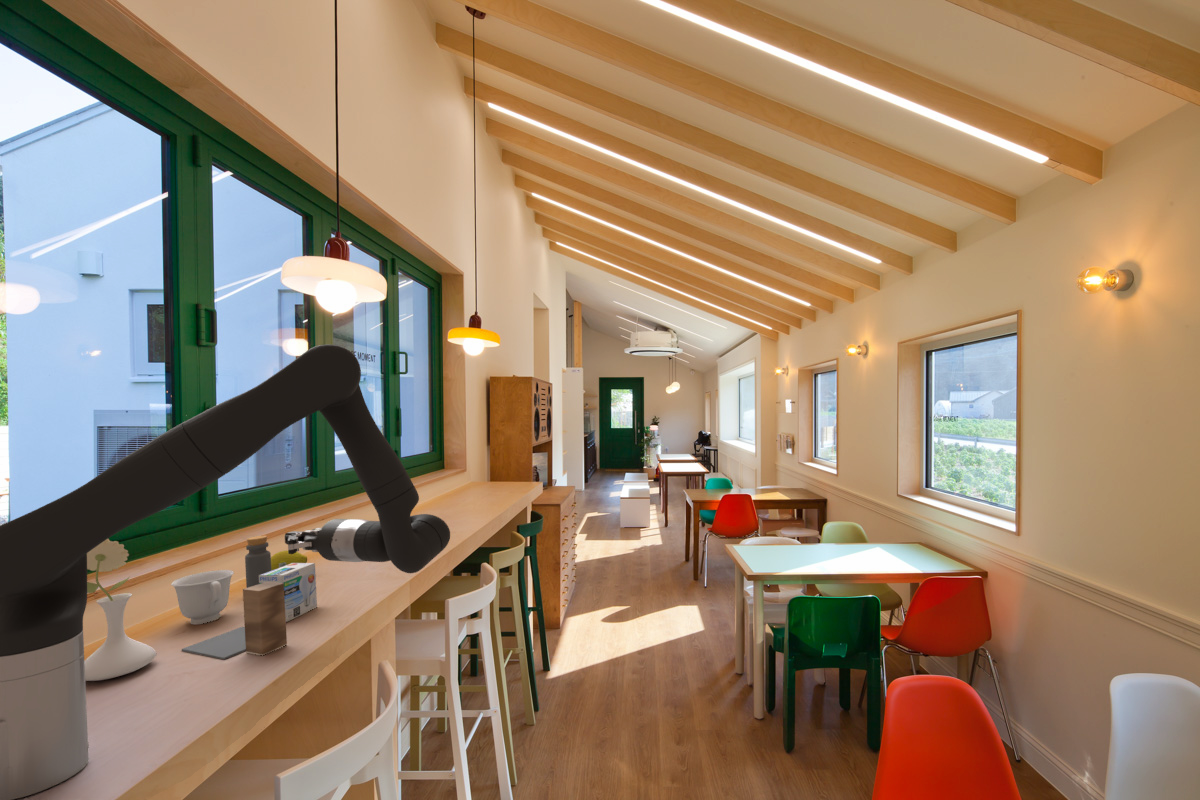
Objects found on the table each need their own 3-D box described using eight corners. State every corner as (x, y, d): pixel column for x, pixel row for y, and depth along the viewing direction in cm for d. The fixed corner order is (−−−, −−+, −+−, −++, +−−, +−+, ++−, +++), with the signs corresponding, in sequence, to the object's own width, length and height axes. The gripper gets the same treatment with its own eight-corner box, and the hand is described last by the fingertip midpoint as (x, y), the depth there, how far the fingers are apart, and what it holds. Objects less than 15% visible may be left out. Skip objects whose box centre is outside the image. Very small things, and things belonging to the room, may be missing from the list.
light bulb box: (285, 623, 124) (282, 575, 124) (259, 623, 125) (256, 575, 125) (318, 606, 134) (316, 561, 135) (294, 606, 136) (292, 562, 136)
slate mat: (283, 635, 116) (283, 633, 116) (224, 659, 106) (224, 657, 106) (242, 628, 122) (242, 626, 123) (181, 650, 112) (181, 648, 112)
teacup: (187, 636, 120) (185, 589, 120) (165, 624, 129) (163, 580, 129) (249, 617, 129) (247, 574, 130) (225, 607, 138) (223, 567, 139)
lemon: (260, 583, 159) (259, 555, 159) (275, 575, 167) (274, 549, 167) (299, 580, 160) (297, 552, 160) (312, 573, 167) (310, 546, 168)
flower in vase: (172, 657, 109) (166, 528, 109) (120, 685, 97) (113, 542, 98) (107, 661, 109) (101, 533, 110) (47, 690, 98) (41, 546, 98)
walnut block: (262, 656, 106) (259, 591, 107) (246, 652, 108) (242, 589, 109) (287, 645, 111) (283, 583, 111) (270, 642, 113) (267, 581, 113)
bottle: (248, 593, 150) (245, 537, 151) (273, 588, 153) (270, 533, 153) (245, 598, 145) (242, 541, 145) (271, 594, 147) (268, 537, 148)
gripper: (378, 512, 107) (317, 511, 115) (317, 527, 96) (253, 526, 103) (381, 551, 107) (319, 548, 115) (320, 571, 95) (256, 566, 103)
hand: (288, 537), depth 109 cm, fingers closed
